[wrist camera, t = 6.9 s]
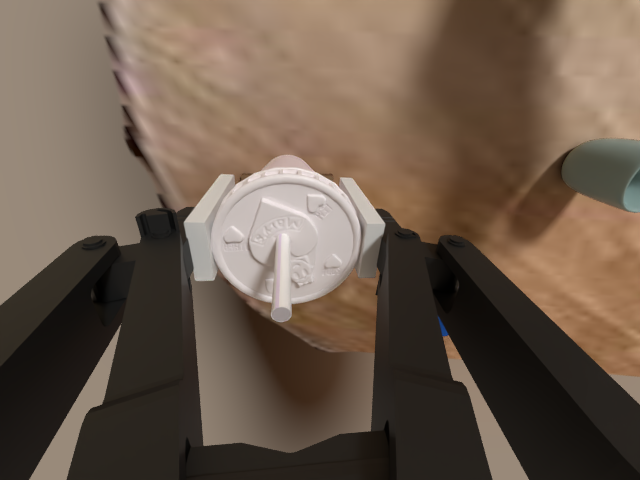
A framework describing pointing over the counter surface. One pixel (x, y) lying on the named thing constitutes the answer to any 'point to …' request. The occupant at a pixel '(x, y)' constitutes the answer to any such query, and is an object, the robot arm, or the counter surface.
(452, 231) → the counter surface
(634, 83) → the counter surface
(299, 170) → the smoothie
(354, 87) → the counter surface
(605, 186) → the cup
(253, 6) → the counter surface
